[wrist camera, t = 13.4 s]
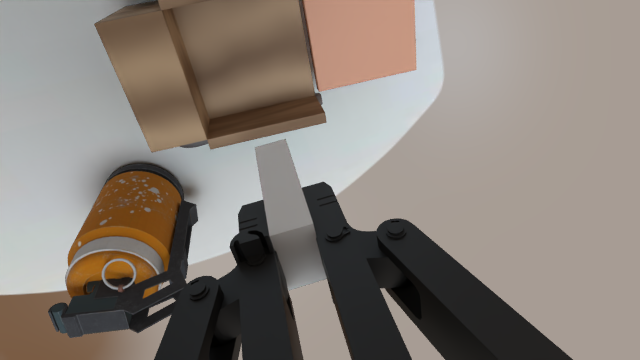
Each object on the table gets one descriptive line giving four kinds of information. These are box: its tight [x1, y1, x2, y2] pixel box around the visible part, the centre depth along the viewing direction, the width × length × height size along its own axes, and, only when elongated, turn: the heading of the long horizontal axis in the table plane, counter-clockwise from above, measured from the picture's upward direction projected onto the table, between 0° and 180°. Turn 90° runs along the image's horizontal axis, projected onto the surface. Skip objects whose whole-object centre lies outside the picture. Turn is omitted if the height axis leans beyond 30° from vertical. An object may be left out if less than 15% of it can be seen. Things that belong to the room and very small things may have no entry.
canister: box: [48, 164, 198, 338], centre depth 40 cm, size 9×11×20 cm
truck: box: [94, 0, 326, 152], centre depth 37 cm, size 16×17×10 cm
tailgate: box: [302, 0, 416, 92], centre depth 38 cm, size 10×2×10 cm
